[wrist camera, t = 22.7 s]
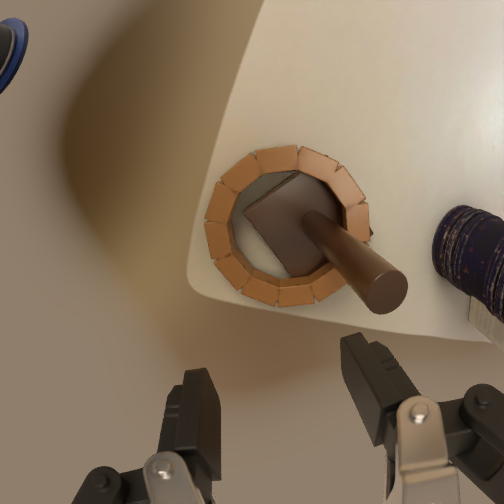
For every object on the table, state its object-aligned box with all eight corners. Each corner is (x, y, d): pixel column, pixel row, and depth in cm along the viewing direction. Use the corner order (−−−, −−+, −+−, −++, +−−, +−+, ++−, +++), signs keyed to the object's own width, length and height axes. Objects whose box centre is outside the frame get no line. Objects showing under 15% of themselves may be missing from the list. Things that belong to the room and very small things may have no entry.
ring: (182, 213, 27) (174, 217, 25) (301, 116, 23) (302, 112, 21) (273, 320, 29) (272, 331, 28) (390, 241, 25) (397, 248, 24)
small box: (489, 307, 34) (530, 340, 24) (467, 321, 34) (508, 359, 24) (495, 262, 31) (543, 292, 21) (471, 275, 31) (521, 309, 21)
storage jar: (426, 284, 31) (504, 352, 17) (434, 205, 28) (535, 246, 14) (476, 273, 31) (549, 324, 17) (486, 203, 28) (572, 237, 14)
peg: (243, 210, 27) (258, 280, 12) (322, 154, 26) (421, 162, 11) (296, 281, 30) (348, 390, 15) (367, 230, 28) (467, 298, 14)
